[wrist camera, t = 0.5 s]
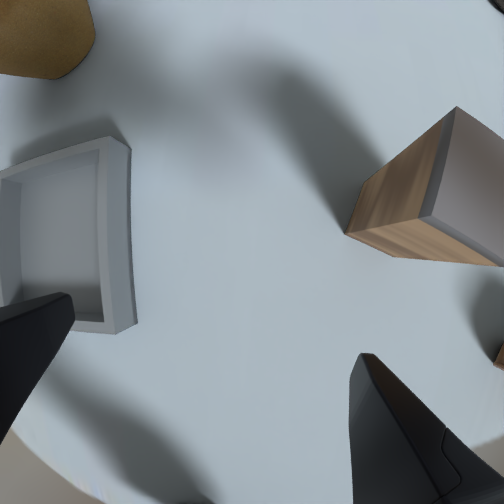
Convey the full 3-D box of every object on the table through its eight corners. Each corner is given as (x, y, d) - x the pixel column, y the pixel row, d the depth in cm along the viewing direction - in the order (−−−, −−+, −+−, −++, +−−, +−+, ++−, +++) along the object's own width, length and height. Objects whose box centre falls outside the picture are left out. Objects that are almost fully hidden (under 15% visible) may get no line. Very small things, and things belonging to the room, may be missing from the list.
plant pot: (143, -9, 22) (83, -104, 6) (99, 100, 22) (-24, 11, 6) (48, 20, 23) (-19, -37, 7) (7, 119, 24) (-91, 78, 8)
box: (137, 323, 22) (115, 334, 19) (25, 314, 23) (1, 320, 20) (131, 149, 22) (109, 135, 18) (21, 178, 23) (-3, 172, 20)
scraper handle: (393, 256, 20) (515, 268, 7) (344, 234, 20) (431, 215, 8) (411, 206, 20) (534, 165, 7) (363, 182, 20) (456, 106, 7)
